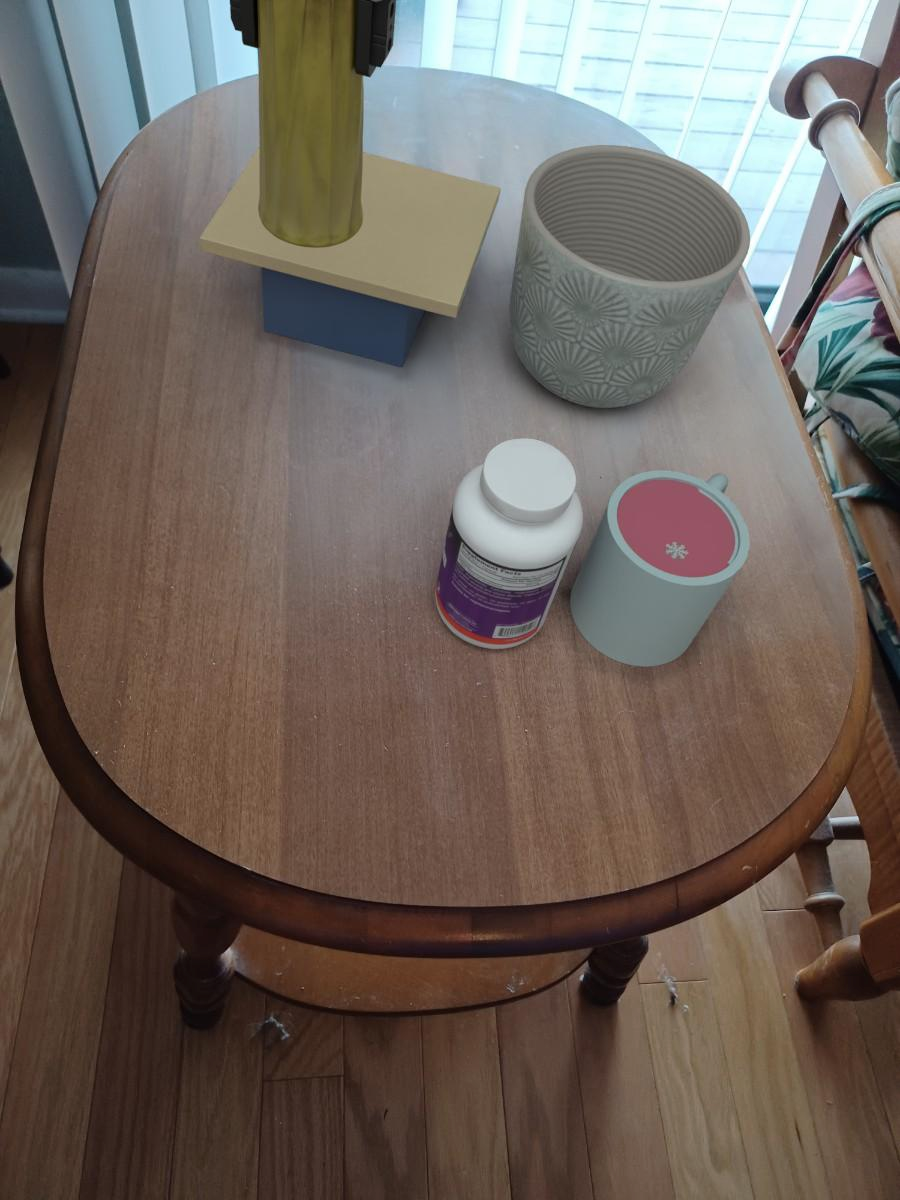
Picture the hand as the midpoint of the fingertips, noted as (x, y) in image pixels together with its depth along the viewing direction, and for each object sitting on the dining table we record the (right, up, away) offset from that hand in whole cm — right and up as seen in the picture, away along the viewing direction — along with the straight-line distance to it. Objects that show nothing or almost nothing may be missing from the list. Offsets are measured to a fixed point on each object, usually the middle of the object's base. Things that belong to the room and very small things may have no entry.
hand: (311, 52), depth 48 cm
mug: (+22, -27, +21) cm, 41 cm away
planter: (+19, -8, +34) cm, 40 cm away
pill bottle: (+10, -28, +19) cm, 35 cm away
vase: (-1, -5, +8) cm, 10 cm away
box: (-1, -2, +34) cm, 34 cm away
